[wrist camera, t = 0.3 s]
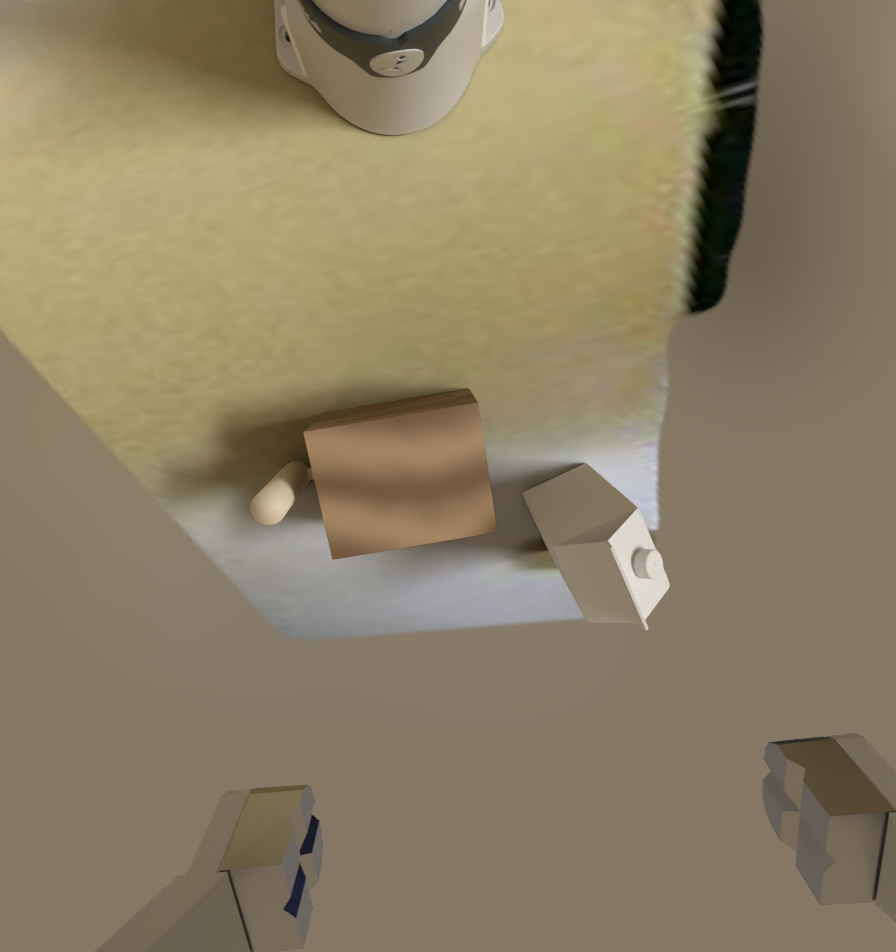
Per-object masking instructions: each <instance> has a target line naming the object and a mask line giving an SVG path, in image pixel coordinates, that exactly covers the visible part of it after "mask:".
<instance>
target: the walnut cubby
mask: <svg viewBox="0 0 896 952" xmlns="http://www.w3.org/2000/svg"><path fill="white" fill-rule="evenodd" d="M303 434H304V438H305V442H306V447H307V451H308V455H309V460H310V464H311V468H312V473H313V477H314V481H315V486H316V490H317V494H318V499H319V503H320V507H321V512H322V516H323V520H324V525H325V529H326V533H327V538H328V542H329V546H330V551H331V555H332V559H333V560H334V559H340V558H346V557H352V556H358V555H364V554H370V553H376V552H382V551H388V550H394V549H400V548H406V547H412V546H418V545H424V544H430V543H435V542H441V541H447V540H453V539H459V538H465V537H471V536H477V535H483V534H489V533H495V532H497V525H496V519H495V512H494V505H493V499H492V492H491V485H490V479H489V472H488V466H487V459H486V452H485V446H484V439H483V433H482V426H481V419H480V413H479V406H478V402H477V400H476V399H475V397H474V396H473V394H472V393H471V391H470V390H469V389H464V390H458V391H452V392H446V393H440V394H434V395H428V396H422V397H416V398H411V399H405V400H399V401H393V402H387V403H381V404H375V405H369V406H363V407H357V408H351V409H346V410H340V411H334V412H328V413H324V414H323V415H322V416H321V417H320V418H318V419H317V420H316V421H315V422H314V423H313V424H312V425H310V426H309V427H308V428H307V429H306V430H305V431H304V432H303Z"/></svg>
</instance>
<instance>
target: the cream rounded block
mask: <svg viewBox="0 0 896 952" xmlns="http://www.w3.org/2000/svg"><path fill="white" fill-rule="evenodd" d="M312 479H314V477H313V473H312V468H308V466H307V465H306V464H304V463H303V462H300V461H291V462H289V463H287V464H286V465H285V466H284V467H283V468H282V469H281V470H280V471H279V472H278V473H277V474H276V475H275V476H274V477H273V478H272V479H271V480H270V481H269V482H268V483H267V484H266V485H265V486H264V487H263V488H262V490H261V491H260V492H259V493H258V494H257V495H256V496H255V497H254V498H253V499H252V501H251V503H250V512H251V515H252V517H253V518H254V519H255V520H256V521H257V522H259V523H260V524H263V525H274V524H276V523H278V522H280V521H281V520H282V518H283V517H284V516H285V514H286V513H287V512H288V510H289V509H290V507H291V506H292V505H293V503H294V502H295V501H296V499H297V498H298V497H299V495H300V494H301V493H302V491H303V490H304V488H305V487H306V486H307V484H308V483H309V481H310V480H312Z"/></svg>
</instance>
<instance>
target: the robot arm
mask: <svg viewBox="0 0 896 952" xmlns="http://www.w3.org/2000/svg"><path fill="white" fill-rule="evenodd" d="M488 4H489V7H488ZM274 13H275V41H276V54H277V58H278V61H279V63H280V65H281V67H282V68H283V69H284V70H285V71H286V72H287V73H289V74H290V75H292V76H294V77H295V78H297V79H299V80H301V81H303V82H305V83H308V84H310V85H311V86H313V87H314V88H315V89H316V90H317V91H318V92H319V93H320V94H321V95H322V97H323V98H324V99H325V100H326V101H327V103H328V104H329V105H330V106H331V107H332V108H333V109H334V110H335V111H336V112H337V113H338V114H339V115H341V116H342V117H343V118H345V119H346V120H347V121H349V122H350V123H352V124H354V125H356V126H358V127H360V128H362V129H364V130H367V131H370V132H374V133H378V134H385V135H402V134H408V133H413V132H416V131H419V130H421V129H424V128H426V127H428V126H430V125H432V124H433V123H435V122H437V121H438V120H439V119H441V118H442V117H443V116H444V115H445V114H447V113H448V112H449V111H450V110H451V109H452V107H453V106H454V105H455V104H456V103H457V101H458V100H459V98H460V97H461V95H462V94H463V92H464V90H465V89H466V87H467V84H468V82H469V80H470V77H471V75H472V72H473V70H474V67H475V65H476V63H477V61H478V59H479V58H480V56H481V55H482V54H483V53H484V52H485V51H486V50H487V49H488V48H489V47H490V46H491V45H492V44H493V43H494V41H495V40H496V39H497V38H498V36H499V35H500V33H501V31H502V29H503V23H504V14H503V9H502V6H501V3H500V0H274ZM288 35H289V38H290V40H291V42H288V41H287V36H288ZM764 761H765V762H766V764H767V765H768V767H769V768H770V770H771V771H770V773H769V774H768V775H767V776H766V777H765V778H764V780H763V790H762V792H763V793H762V797H763V801H764V805H765V810H766V814H767V816H768V818H769V821H770V823H771V825H772V828H773V829H774V831H775V832H776V834H777V836H778V838H779V839H780V841H781V842H783V843H784V844H786V845H787V846H789V847H790V848H792V849H793V850H795V851H796V852H797V853H796V867H797V869H798V870H799V872H800V874H801V875H802V877H803V879H804V880H805V882H806V883H807V885H808V886H809V888H810V890H811V891H812V893H813V895H814V896H815V898H816V900H817V901H818V903H819V904H820V905H831V904H848V903H849V904H850V903H869V902H876V903H875V905H876V906H877V907H878V908H879V909H881V910H882V911H883V912H884V913H886V914H887V915H888V916H889V917H891V918H892V919H893V920H895V921H896V770H895V769H894V768H893V767H892V766H891V765H890V764H889V763H888V762H887V761H886V760H885V758H883V756H882V755H880V753H879V752H878V751H877V750H876V749H875V748H874V747H873V746H872V745H871V744H870V743H869V742H868V741H867V740H866V739H865V738H864V737H863V736H861V735H859V734H857V733H851V734H841V735H832V736H826V737H813V738H803V739H794V740H783V741H775V742H768V744H767V746H766V748H765V755H764ZM314 803H315V799H314V796H313V792H312V788H311V786H309V785H297V786H281V787H265V788H254V789H245V790H227V791H226V792H225V793H224V794H223V795H222V796H221V798H220V799H219V802H218V804H217V806H216V808H215V810H214V813H213V815H212V817H211V819H210V822H209V824H208V826H207V828H206V831H205V833H204V835H203V837H202V840H201V842H200V844H199V847H198V849H197V851H196V853H195V855H194V858H193V860H192V862H191V864H190V867H189V869H188V871H187V873H186V875H181V876H177V877H175V879H173V880H172V881H171V882H170V883H169V884H168V885H167V886H166V887H165V888H163V889H162V890H161V891H160V892H159V893H158V894H157V895H156V896H155V897H154V898H153V899H151V900H150V901H149V902H148V903H147V904H146V905H145V906H144V907H143V908H142V909H140V910H139V911H138V912H137V913H136V914H135V915H134V916H133V917H132V918H131V919H130V920H128V921H127V923H125V924H124V925H123V926H122V927H121V928H120V929H119V930H118V931H116V932H115V933H114V934H113V935H112V936H111V937H110V938H109V939H108V940H107V941H105V942H104V943H103V944H102V945H101V946H100V947H99V948H98V949H97V950H96V951H95V952H277V951H285V950H294V949H303V948H304V945H305V940H306V936H307V931H308V926H309V922H310V917H311V913H312V908H313V906H312V902H311V898H310V893H309V891H310V890H311V889H312V888H313V887H314V885H315V884H316V883H317V882H318V880H319V874H320V870H321V865H322V850H323V841H322V830H321V826H320V821H319V820H318V819H317V818H316V817H315V816H314V815H312V811H313V807H314Z"/></svg>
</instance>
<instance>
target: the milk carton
mask: <svg viewBox="0 0 896 952" xmlns="http://www.w3.org/2000/svg"><path fill="white" fill-rule="evenodd" d="M522 495H523V497H524V500H525V502H526V504H527V506H528V508H529V510H530V512H531V515H532V517H533V519H534V521H535V523H536V525H537V528H538V530H539V532H540V534H541V536H542V538H543V540H544V543H545V545H546V547H547V549H548V551H549V553H550V554H551V556H552V558H553V560H554V562H555V564H556V566H557V567H558V569H559V571H560V573H561V575H562V577H563V578H564V580H565V582H566V584H567V586H568V588H569V589H570V591H571V593H572V595H573V597H574V599H575V601H576V602H577V604H578V606H579V608H580V610H581V612H582V613H583V615H584V617H585V619H586V621H587V622H596V623H597V622H598V623H600V622H601V623H641V624H642V625H643V627H644V628H645V629H646V630H648V626H647V624H646V621H645V619H646V618H647V617H648V615H649V614H650V613H651V611H652V610H653V608H654V607H655V606H656V604H657V603H658V602H659V600H660V599H661V598H662V596H663V595H664V593H665V592H666V591H667V590H668V588H669V581H668V578H667V576H666V573H665V571H664V568H663V561H662V558H661V555H660V554H659V552H658V551H657V550H656V549H655V547H654V544H653V542H652V539H651V537H650V534H649V532H648V530H647V527H646V525H645V522H644V520H643V518H642V515H641V513H640V511H639V509H638V508H637V507H636V506H635V505H634V504H633V503H632V502H631V501H630V500H629V499H627V498H626V497H625V496H624V495H623V494H622V493H620V492H619V491H618V490H617V489H616V488H615V487H613V486H612V485H611V484H610V483H609V482H608V481H607V480H605V479H604V478H603V477H602V476H601V475H600V474H598V473H597V472H596V471H595V470H594V469H593V468H592V467H590V466H589V465H588V464H587V463H585V464H583V465H580V466H578V467H576V468H574V469H572V470H570V471H567V472H565V473H563V474H561V475H559V476H557V477H555V478H552V479H550V480H548V481H546V482H544V483H542V484H540V485H537V486H535V487H533V488H531V489H529V490H527V491H525V492H523V493H522Z"/></svg>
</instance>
